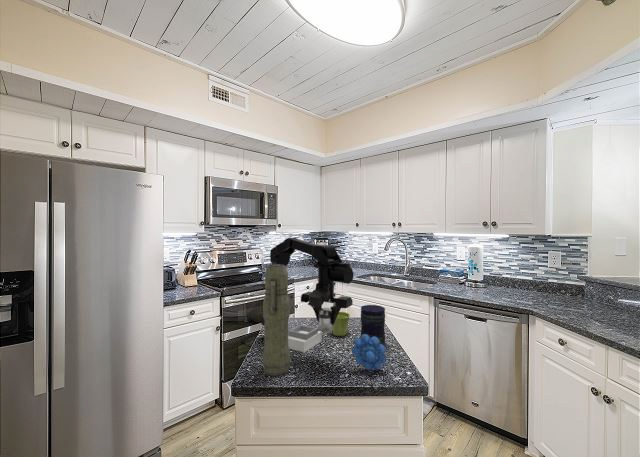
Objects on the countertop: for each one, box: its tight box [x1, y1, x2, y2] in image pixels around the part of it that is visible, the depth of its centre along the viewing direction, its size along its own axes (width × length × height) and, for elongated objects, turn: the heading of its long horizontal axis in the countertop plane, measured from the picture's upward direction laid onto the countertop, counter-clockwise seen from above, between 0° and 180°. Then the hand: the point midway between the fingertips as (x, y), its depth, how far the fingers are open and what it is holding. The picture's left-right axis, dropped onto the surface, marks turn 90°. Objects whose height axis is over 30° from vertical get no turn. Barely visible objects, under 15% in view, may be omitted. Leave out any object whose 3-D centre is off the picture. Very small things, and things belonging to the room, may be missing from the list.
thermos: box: [262, 263, 291, 377], centre depth 96 cm, size 9×12×35 cm
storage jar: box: [360, 304, 386, 346], centre depth 116 cm, size 10×10×15 cm
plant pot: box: [332, 311, 351, 337], centre depth 128 cm, size 9×9×9 cm
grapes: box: [351, 334, 388, 371], centre depth 94 cm, size 12×7×12 cm, turn 87°
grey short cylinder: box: [318, 307, 333, 332], centre depth 103 cm, size 6×6×7 cm
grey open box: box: [288, 324, 322, 353], centre depth 116 cm, size 9×13×6 cm
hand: (325, 323), depth 103 cm, fingers closed on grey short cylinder, 5 cm apart
